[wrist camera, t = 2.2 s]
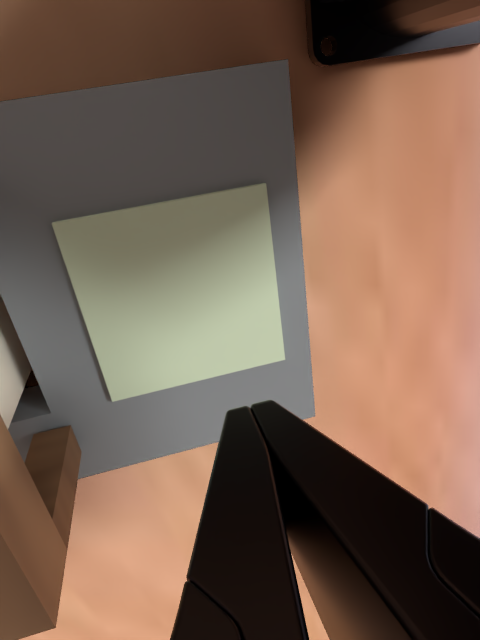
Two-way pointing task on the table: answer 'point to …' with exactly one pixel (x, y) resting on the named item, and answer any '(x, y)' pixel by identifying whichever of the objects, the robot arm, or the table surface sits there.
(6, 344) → the block
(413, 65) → the table surface
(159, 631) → the table surface
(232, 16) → the table surface
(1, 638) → the slide cover
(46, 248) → the board
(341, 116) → the table surface
